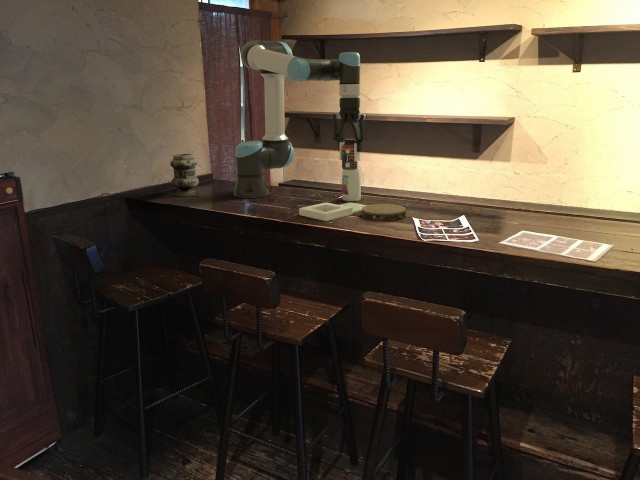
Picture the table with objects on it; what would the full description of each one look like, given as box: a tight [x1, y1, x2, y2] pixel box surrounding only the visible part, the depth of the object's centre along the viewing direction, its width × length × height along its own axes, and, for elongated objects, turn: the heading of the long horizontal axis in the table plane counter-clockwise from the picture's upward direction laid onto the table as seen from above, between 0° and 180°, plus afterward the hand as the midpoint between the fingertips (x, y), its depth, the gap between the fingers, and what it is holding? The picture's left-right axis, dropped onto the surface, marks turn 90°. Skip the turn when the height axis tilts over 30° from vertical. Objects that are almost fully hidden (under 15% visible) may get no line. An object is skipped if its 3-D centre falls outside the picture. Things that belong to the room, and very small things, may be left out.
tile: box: [340, 201, 367, 214], centre depth 206 cm, size 12×12×1 cm
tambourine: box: [361, 203, 407, 222], centre depth 193 cm, size 16×16×3 cm
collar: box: [298, 202, 354, 222], centre depth 196 cm, size 14×14×2 cm
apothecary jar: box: [169, 152, 200, 197], centre depth 238 cm, size 12×12×18 cm
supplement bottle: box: [341, 138, 359, 170], centre depth 200 cm, size 6×6×11 cm
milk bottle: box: [341, 164, 362, 202], centre depth 219 cm, size 8×8×20 cm
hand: (349, 160), depth 200 cm, fingers closed on supplement bottle, 6 cm apart
